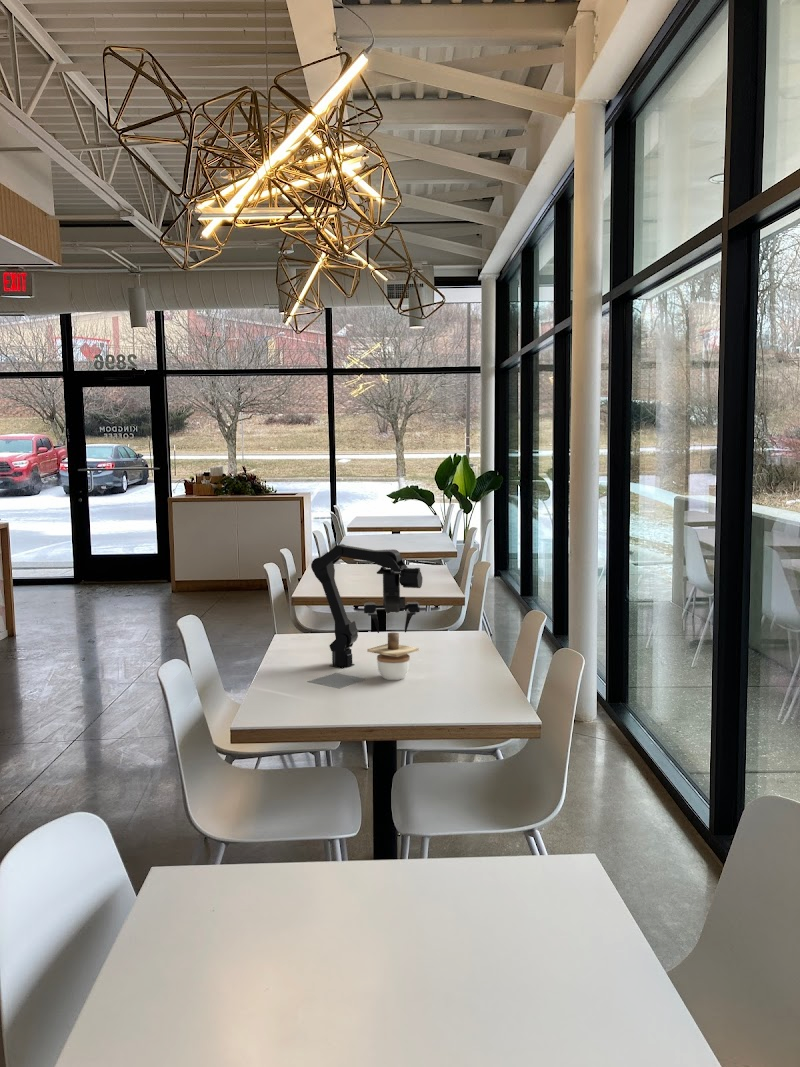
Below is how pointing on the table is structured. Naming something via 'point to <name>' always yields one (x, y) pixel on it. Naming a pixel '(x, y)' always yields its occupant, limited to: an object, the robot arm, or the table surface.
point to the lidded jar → (393, 666)
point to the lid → (393, 647)
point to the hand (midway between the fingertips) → (391, 632)
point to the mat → (337, 680)
